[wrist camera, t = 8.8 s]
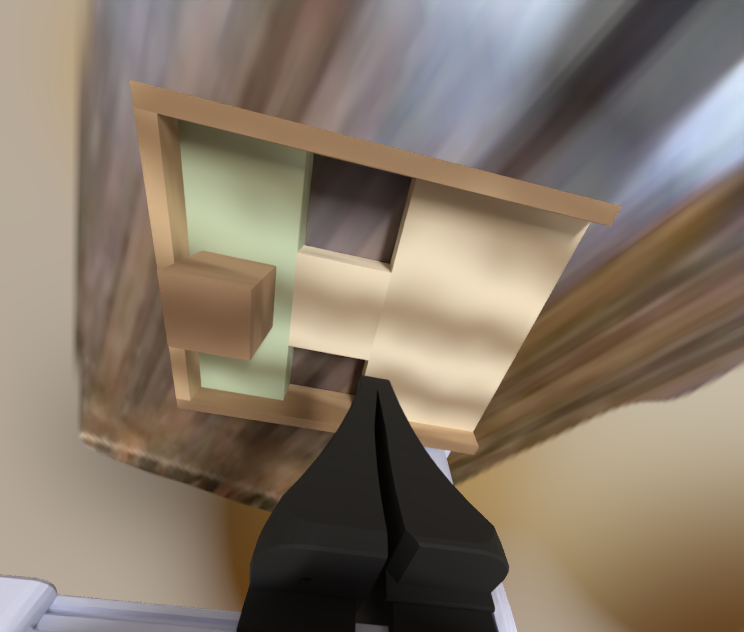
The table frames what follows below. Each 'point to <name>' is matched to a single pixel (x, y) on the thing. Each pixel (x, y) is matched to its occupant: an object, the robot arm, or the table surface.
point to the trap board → (354, 266)
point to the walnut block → (217, 304)
